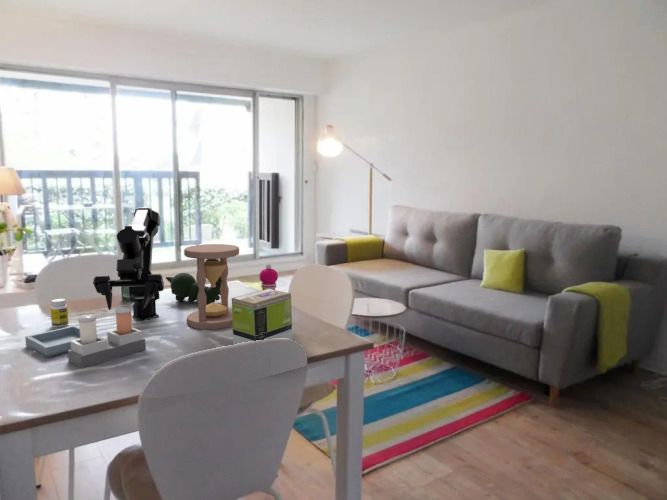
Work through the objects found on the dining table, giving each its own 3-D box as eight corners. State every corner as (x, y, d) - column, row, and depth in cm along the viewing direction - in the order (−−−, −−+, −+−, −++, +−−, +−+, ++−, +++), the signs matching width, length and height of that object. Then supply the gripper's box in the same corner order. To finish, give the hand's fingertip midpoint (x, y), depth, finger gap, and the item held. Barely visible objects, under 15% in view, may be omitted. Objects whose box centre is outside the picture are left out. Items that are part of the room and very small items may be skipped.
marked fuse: (128, 336, 145) (126, 306, 144) (136, 339, 143) (134, 308, 141) (114, 340, 142) (112, 309, 141) (121, 343, 140) (120, 311, 138)
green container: (122, 298, 199) (121, 270, 198) (144, 297, 202) (142, 269, 200) (120, 303, 192) (119, 274, 190) (143, 302, 194) (141, 273, 192)
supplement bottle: (61, 328, 162) (59, 302, 161) (48, 327, 163) (46, 301, 162) (71, 323, 167) (70, 298, 165) (59, 322, 168) (57, 297, 166)
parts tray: (76, 334, 156) (75, 325, 155) (98, 344, 147) (97, 334, 147) (26, 346, 145) (25, 336, 144) (47, 358, 136) (46, 347, 136)
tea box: (269, 333, 159) (269, 287, 157) (292, 340, 153) (292, 292, 150) (231, 346, 147) (230, 296, 145) (255, 354, 141) (254, 302, 139)
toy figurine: (229, 305, 196) (171, 295, 202) (232, 257, 193) (173, 248, 199) (217, 312, 187) (157, 301, 193) (220, 262, 184) (159, 252, 190)
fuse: (93, 345, 138) (91, 313, 136) (101, 349, 135) (99, 316, 134) (77, 349, 134) (75, 316, 133) (85, 353, 132) (82, 320, 130)
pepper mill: (284, 322, 170) (284, 263, 167) (267, 327, 165) (267, 266, 161) (270, 318, 175) (270, 261, 172) (253, 322, 169) (252, 263, 166)
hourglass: (213, 333, 159) (211, 254, 155) (175, 323, 168) (172, 248, 164) (251, 319, 173) (250, 246, 169) (214, 311, 182) (212, 242, 179)
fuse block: (132, 343, 148) (131, 325, 147) (145, 349, 144) (144, 330, 143) (68, 361, 134) (67, 341, 134) (81, 368, 130) (79, 347, 129)
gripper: (92, 248, 146) (84, 294, 137) (160, 247, 149) (156, 292, 140) (101, 270, 155) (93, 315, 146) (165, 268, 158) (162, 312, 149)
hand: (126, 308), depth 145 cm, fingers open, 9 cm apart
